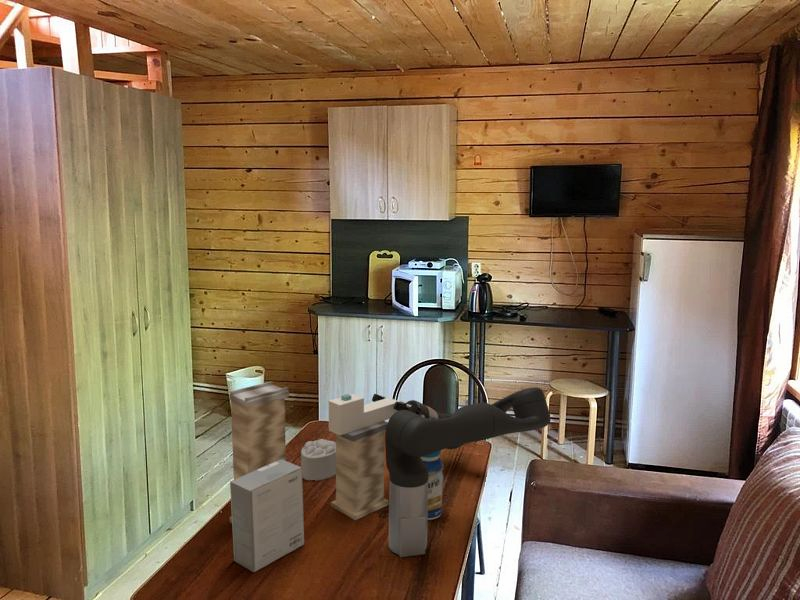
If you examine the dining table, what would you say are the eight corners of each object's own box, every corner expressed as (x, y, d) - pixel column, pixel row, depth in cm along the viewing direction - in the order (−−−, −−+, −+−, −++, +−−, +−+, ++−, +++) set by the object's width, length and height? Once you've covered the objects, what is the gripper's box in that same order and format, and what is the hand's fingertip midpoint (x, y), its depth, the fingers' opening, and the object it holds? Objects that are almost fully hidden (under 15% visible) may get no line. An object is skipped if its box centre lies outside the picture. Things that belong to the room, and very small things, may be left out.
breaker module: (388, 411, 183) (388, 380, 182) (399, 415, 180) (400, 384, 178) (328, 430, 169) (328, 397, 167) (339, 435, 166) (339, 401, 164)
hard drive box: (284, 533, 163) (282, 458, 159) (305, 544, 158) (304, 467, 155) (232, 561, 151) (229, 480, 147) (253, 574, 146) (250, 490, 143)
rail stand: (272, 504, 177) (269, 380, 171) (292, 516, 171) (290, 388, 165) (229, 521, 168) (224, 391, 162) (248, 535, 162) (244, 400, 156)
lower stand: (365, 491, 185) (365, 413, 181) (390, 504, 178) (391, 423, 174) (329, 507, 176) (328, 425, 172) (353, 521, 169) (353, 436, 165)
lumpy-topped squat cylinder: (345, 466, 201) (345, 439, 200) (322, 483, 190) (322, 455, 188) (316, 459, 206) (316, 433, 204) (292, 476, 194) (292, 448, 193)
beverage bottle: (445, 507, 177) (447, 437, 173) (438, 523, 169) (440, 450, 165) (415, 503, 179) (416, 433, 175) (406, 518, 171) (408, 445, 167)
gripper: (433, 436, 184) (397, 421, 173) (397, 422, 194) (361, 407, 183) (442, 411, 185) (407, 394, 174) (406, 398, 195) (371, 382, 184)
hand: (384, 401), depth 178 cm, fingers open, 8 cm apart
